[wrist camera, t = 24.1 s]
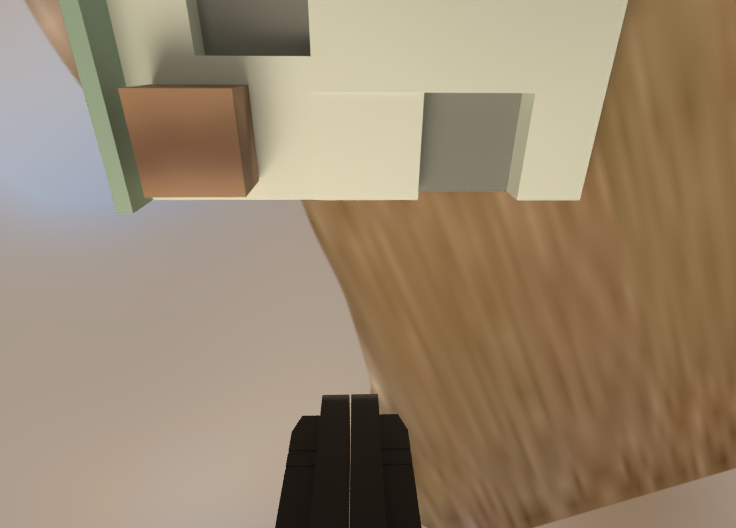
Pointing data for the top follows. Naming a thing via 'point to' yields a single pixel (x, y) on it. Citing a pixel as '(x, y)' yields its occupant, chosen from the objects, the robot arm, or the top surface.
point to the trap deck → (366, 89)
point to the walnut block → (192, 139)
